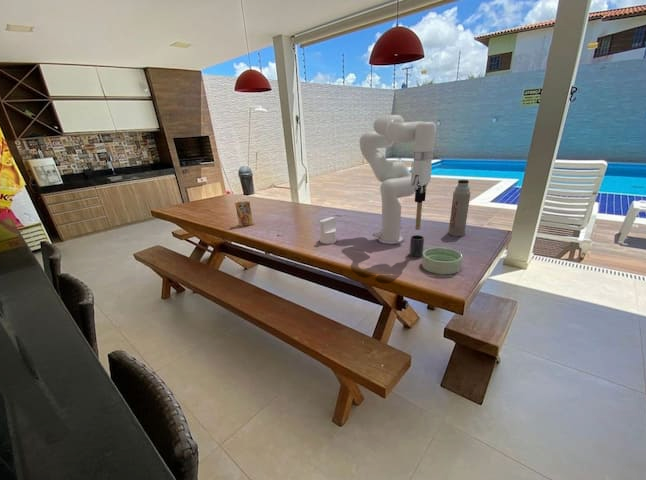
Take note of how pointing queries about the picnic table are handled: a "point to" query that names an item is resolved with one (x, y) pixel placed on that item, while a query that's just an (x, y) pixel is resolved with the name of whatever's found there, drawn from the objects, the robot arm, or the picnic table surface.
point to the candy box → (244, 213)
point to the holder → (416, 246)
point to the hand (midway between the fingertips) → (419, 201)
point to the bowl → (442, 260)
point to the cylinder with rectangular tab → (327, 231)
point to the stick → (418, 215)
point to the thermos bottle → (459, 208)
